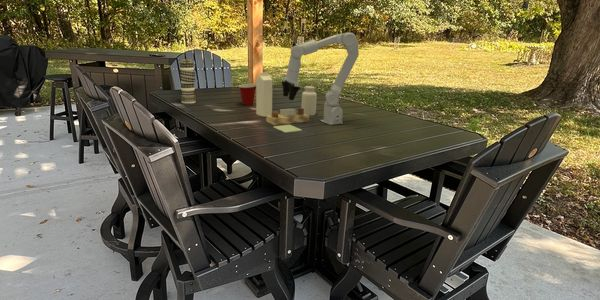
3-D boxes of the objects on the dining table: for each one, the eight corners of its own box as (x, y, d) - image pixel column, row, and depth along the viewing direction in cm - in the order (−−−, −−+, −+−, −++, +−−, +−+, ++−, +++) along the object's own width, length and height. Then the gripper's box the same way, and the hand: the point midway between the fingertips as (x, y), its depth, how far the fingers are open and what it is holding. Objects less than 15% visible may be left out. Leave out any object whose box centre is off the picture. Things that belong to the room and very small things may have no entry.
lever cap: (292, 114, 195) (292, 108, 194) (296, 115, 192) (296, 109, 191) (280, 115, 192) (280, 109, 191) (284, 117, 188) (284, 110, 188)
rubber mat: (302, 130, 176) (302, 129, 176) (285, 132, 172) (285, 132, 171) (289, 125, 185) (289, 124, 185) (273, 127, 180) (273, 126, 180)
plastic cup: (236, 103, 233) (235, 83, 229) (253, 102, 237) (253, 83, 234) (241, 107, 223) (241, 86, 220) (259, 106, 228) (259, 85, 224)
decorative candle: (180, 100, 235) (177, 58, 227) (196, 100, 238) (194, 58, 230) (180, 103, 226) (178, 60, 219) (196, 103, 229) (194, 60, 222)
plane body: (300, 118, 201) (300, 106, 199) (309, 121, 195) (309, 109, 193) (266, 121, 191) (266, 109, 189) (274, 125, 184) (274, 112, 183)
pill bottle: (316, 116, 207) (317, 88, 202) (301, 115, 207) (302, 87, 202) (315, 113, 214) (317, 86, 210) (301, 112, 215) (302, 85, 210)
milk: (272, 115, 205) (272, 73, 198) (262, 116, 201) (263, 73, 194) (264, 113, 209) (265, 72, 203) (255, 114, 205) (256, 72, 199)
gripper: (280, 67, 192) (275, 93, 196) (291, 72, 180) (286, 100, 184) (293, 68, 195) (288, 95, 199) (305, 74, 183) (299, 102, 187)
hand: (288, 98), depth 192 cm, fingers open, 7 cm apart
